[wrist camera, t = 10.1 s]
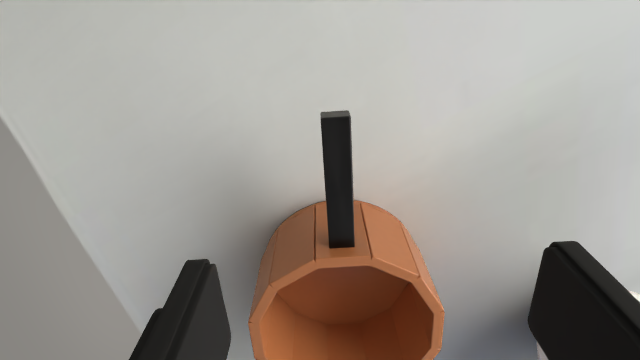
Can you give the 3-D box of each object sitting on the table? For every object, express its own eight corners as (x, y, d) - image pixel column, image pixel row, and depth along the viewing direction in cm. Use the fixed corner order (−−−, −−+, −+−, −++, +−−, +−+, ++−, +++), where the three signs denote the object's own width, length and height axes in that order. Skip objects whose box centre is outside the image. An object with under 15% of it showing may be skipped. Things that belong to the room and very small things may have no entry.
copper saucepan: (238, 97, 25) (211, 130, 19) (425, 85, 25) (463, 113, 18) (273, 327, 33) (263, 405, 27) (414, 320, 33) (437, 396, 27)
